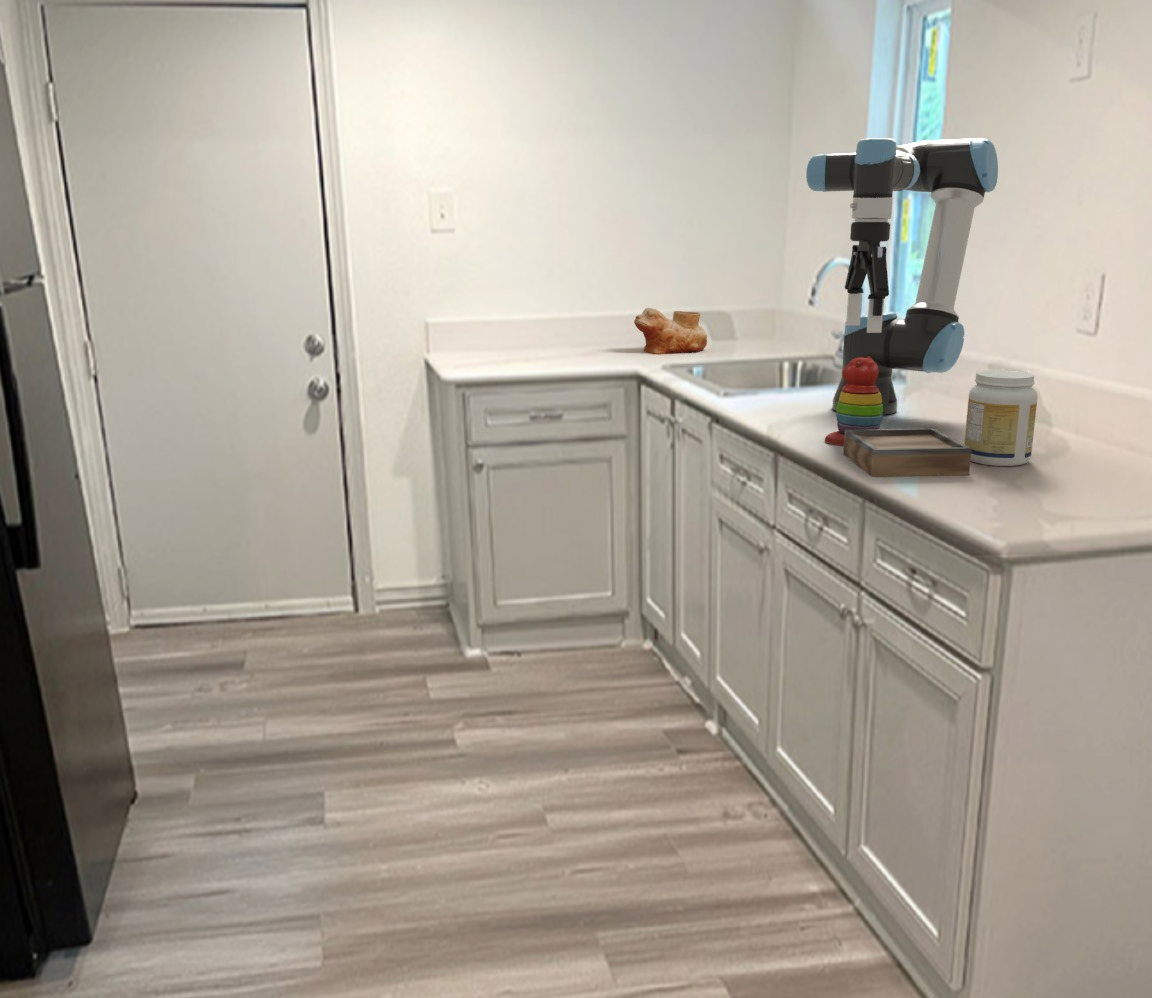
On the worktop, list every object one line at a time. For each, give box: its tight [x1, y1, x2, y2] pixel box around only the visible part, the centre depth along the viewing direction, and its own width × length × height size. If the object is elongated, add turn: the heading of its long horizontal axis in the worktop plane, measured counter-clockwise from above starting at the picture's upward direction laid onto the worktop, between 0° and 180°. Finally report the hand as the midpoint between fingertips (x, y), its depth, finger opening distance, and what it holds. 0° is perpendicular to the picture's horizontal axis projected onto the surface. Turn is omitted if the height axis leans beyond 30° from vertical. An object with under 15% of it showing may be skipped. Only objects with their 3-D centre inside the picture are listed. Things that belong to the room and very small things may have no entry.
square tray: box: [842, 427, 972, 478], centre depth 199 cm, size 18×18×5 cm
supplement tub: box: [963, 369, 1038, 467], centre depth 201 cm, size 12×12×17 cm
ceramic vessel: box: [633, 307, 708, 356], centre depth 356 cm, size 14×26×15 cm, turn 107°
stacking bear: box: [824, 357, 884, 447], centre depth 217 cm, size 11×10×18 cm
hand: (863, 329), depth 213 cm, fingers open, 13 cm apart
